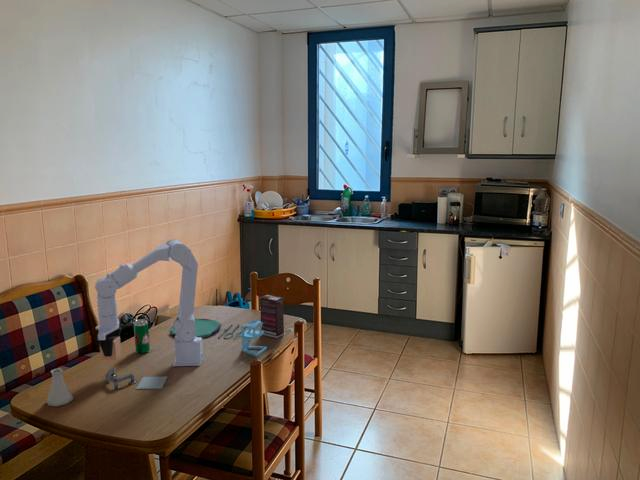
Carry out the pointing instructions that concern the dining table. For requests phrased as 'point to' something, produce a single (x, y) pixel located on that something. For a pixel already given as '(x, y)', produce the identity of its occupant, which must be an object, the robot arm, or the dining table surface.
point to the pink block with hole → (113, 350)
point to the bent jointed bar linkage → (111, 375)
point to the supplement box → (272, 316)
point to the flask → (58, 390)
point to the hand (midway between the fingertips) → (110, 352)
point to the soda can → (141, 336)
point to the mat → (152, 383)
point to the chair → (252, 337)
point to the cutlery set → (209, 328)
